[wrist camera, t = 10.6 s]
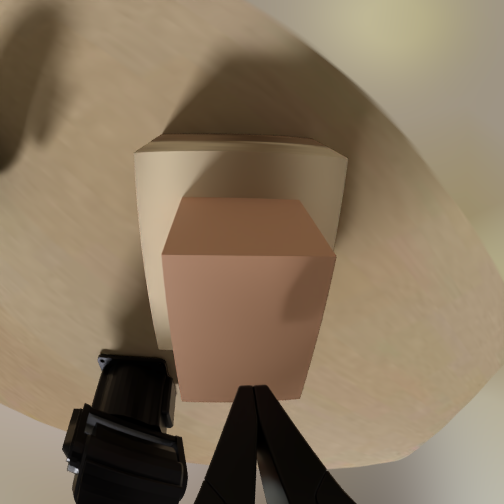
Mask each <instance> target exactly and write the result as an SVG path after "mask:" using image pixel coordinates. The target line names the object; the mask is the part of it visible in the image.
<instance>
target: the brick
mask: <svg viewBox="0 0 504 504" xmlns="http://www.w3.org/2000/svg"><path fill="white" fill-rule="evenodd" d="M161 256H162V267H163V277H164V286H165V295H166V303H167V311H168V319H169V326H170V333H171V340H172V347H173V353H174V359H175V365H176V371H177V377H178V383H179V388H180V393H181V399H182V401H183V402H233V401H234V398H235V395H236V393H237V390H238V387H239V386H240V385H252V386H254V385H267V386H268V387H269V388H270V390H271V391H272V393H273V394H274V396H275V397H276V399H277V400H291V399H300V397H301V394H302V390H303V387H304V384H305V380H306V377H307V374H308V370H309V367H310V363H311V359H312V356H313V352H314V349H315V345H316V341H317V337H318V334H319V330H320V326H321V322H322V318H323V314H324V310H325V306H326V301H327V297H328V293H329V289H330V284H331V280H332V275H333V271H334V266H335V261H336V255H335V253H334V252H333V250H332V249H331V247H330V246H329V244H328V242H327V241H326V239H325V238H324V236H323V235H322V233H321V232H320V230H319V229H318V227H317V226H316V224H315V223H314V221H313V219H312V218H311V216H310V215H309V213H308V212H307V210H306V209H305V208H304V206H303V205H302V203H301V202H300V200H289V199H263V198H223V197H182V199H181V202H180V204H179V207H178V210H177V212H176V215H175V218H174V220H173V223H172V226H171V229H170V231H169V234H168V237H167V240H166V243H165V246H164V249H163V251H162V254H161Z"/></svg>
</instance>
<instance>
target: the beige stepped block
mask: <svg viewBox="0 0 504 504" xmlns="http://www.w3.org/2000/svg"><path fill="white" fill-rule="evenodd" d="M347 164H348V158H346V157H345V156H343V155H341V154H339V153H337V152H336V151H334V150H332V149H330V148H329V147H327V146H325V145H323V144H321V143H319V142H317V141H316V140H314V139H311V138H300V137H287V136H271V135H250V134H162V135H160V136H158V137H157V138H155V139H154V140H152V141H151V142H149V143H148V144H146V145H145V146H143V147H142V148H140V149H139V150H137V151H136V152H134V167H135V183H136V197H137V208H138V219H139V229H140V238H141V247H142V255H143V262H144V270H145V277H146V283H147V290H148V296H149V302H150V308H151V314H152V319H153V325H154V330H155V335H156V340H157V345H158V350H173V347H172V340H171V333H170V326H169V319H168V311H167V303H166V295H165V286H164V277H163V267H162V256H161V254H162V251H163V249H164V246H165V243H166V240H167V237H168V234H169V231H170V229H171V226H172V223H173V220H174V218H175V215H176V212H177V210H178V207H179V204H180V202H181V199H182V197H223V198H263V199H289V200H300V202H301V203H302V205H303V206H304V208H305V209H306V210H307V212H308V213H309V215H310V216H311V218H312V219H313V221H314V223H315V224H316V226H317V227H318V229H319V230H320V232H321V233H322V235H323V236H324V238H325V239H326V241H327V242H328V244H329V246H330V247H331V249H332V250H334V245H335V239H336V234H337V228H338V223H339V217H340V211H341V205H342V198H343V192H344V185H345V178H346V171H347Z"/></svg>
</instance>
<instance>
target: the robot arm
mask: <svg viewBox="0 0 504 504" xmlns="http://www.w3.org/2000/svg"><path fill="white" fill-rule="evenodd" d="M98 363H99V365H100V368H101V370H102V373H101V376H100V379H99V383H98V386H97V389H96V393H95V396H94V400H93V403H92V407H91V405H88V404H86V403H85V404H84V407H83V409H81V408H80V409H74V410H73V413H72V417H71V420H70V423H69V427H68V430H67V434H66V437H65V440H64V444H63V448H62V450H63V452H64V453H65V455H66V457H67V462H68V468H67V471H70V472H72V473H75V476H74V481H73V486H72V491H73V495H74V500H75V502H76V504H178V503H179V501H180V500H181V499H182V498H183V496H184V494H185V491H186V487H187V480H188V473H187V466H186V460H185V454H184V448H183V441H182V437H179V436H172V435H169V434H166V430H167V428H171V427H173V421H174V409H175V398H176V392H175V387H174V382H173V379H172V378H171V377H169V374H168V370H167V365H166V361H165V360H163V359H160V358H142V357H128V356H115V355H104V354H100V355H99V356H98ZM257 462H258V467H259V471H260V476H261V480H262V485H263V489H264V493H265V498H266V502H267V504H356V503H355V502H354V501H353V500H352V499H351V498H350V496H348V494H347V493H346V492H345V491H344V490H343V489H342V488H341V487H340V485H339V484H338V483H337V482H336V480H335V479H334V478H333V477H332V475H331V474H330V473H329V471H326V470H327V469H326V467H325V466H324V465H323V463H322V462H321V461H320V459H319V458H318V457H317V455H316V454H315V453H314V451H313V450H312V448H311V447H310V446H309V444H308V443H307V442H306V440H305V439H304V437H303V436H302V435H301V433H300V432H299V430H298V429H297V427H296V426H295V425H294V423H293V422H292V420H291V419H290V417H289V416H288V415H287V413H286V412H285V410H284V409H283V407H282V406H281V404H280V403H279V401H278V400H277V399H276V397H275V396H274V394H273V393H272V391H271V390H270V388H269V387H268V386H267V385H254V386H252V385H240V386H239V387H238V390H237V393H236V395H235V398H234V401H233V404H232V406H231V409H230V412H229V415H228V417H227V420H226V423H225V426H224V428H223V431H222V434H221V436H220V439H219V442H218V444H217V447H216V450H215V452H214V455H213V458H212V460H211V463H210V465H209V468H208V471H207V473H206V476H205V480H204V481H203V483H202V486H201V488H200V491H199V493H198V495H197V498H196V500H195V502H194V504H255V485H256V465H257Z"/></svg>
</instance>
